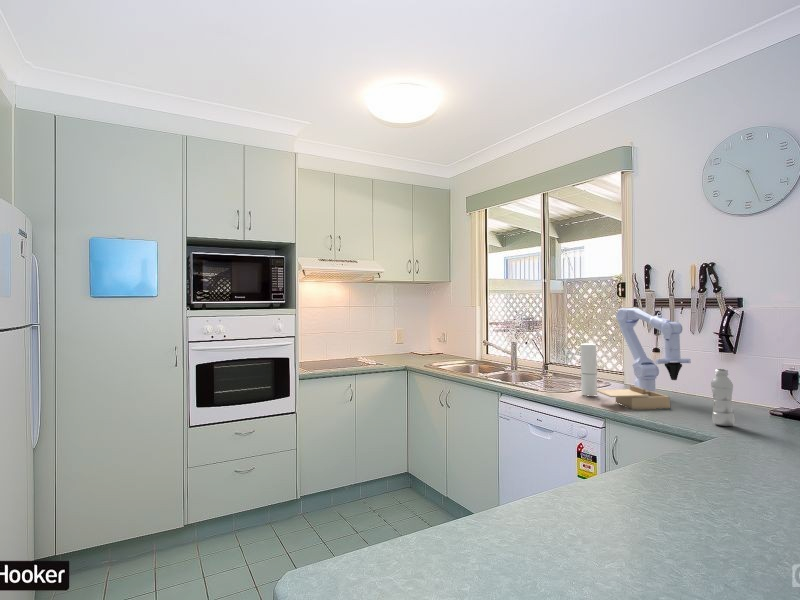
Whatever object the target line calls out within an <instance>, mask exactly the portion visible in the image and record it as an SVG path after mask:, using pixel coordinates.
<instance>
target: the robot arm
mask: <svg viewBox="0 0 800 600" xmlns="http://www.w3.org/2000/svg"><path fill="white" fill-rule="evenodd" d="M615 315H616V316H615V319H616V320H617V322H618V325H619V328H620V332H621V334H622V336H623V338H624V340H625V342H626V344H627V347H628V349H629V351H630V353H631V356H632V357H633V359H634V362H633V363H632V365H631V366H632V369H633V373H634V376H635V377H636V378H635V380H634V386H636V387H639V388H642V389H645V391H653V392H656V391H657V390H656V379H657V377H658V376H659V375H660V369H659V367H658V366H657V365H661V364H662V365H664V366H665V368H666V370H667V372H668V375H669V378H670V380H671V381H677V380H678V376H679V373H680V371H681V369H682V368H683V364H691V362H692V361H691V358H681V342H680V341H681V340H680V339H681V336H680V335H681V334H682V332H683V326H682V324H681V323H680V322H678V321H671V319H669V318H667V319H666V318H665V317H663V315H660V314H659V315H654V316H653V315H651V314H650V313H647V312H645V311H644V310H642V309H641V308H637V307H633V308H632V307H631V308H623V307H622V308H621V307H620V308H619V309H618V310H617V312H616V314H615ZM639 320H641V321H644V322H647V323H649V325H650V326H651V328H654V329H655V330H658V331H660V332H661V333H662V335H663V338H664V351H665V352H664V353H665V354H664V355H665V358H657V359H655V362H654V360H653V359H651V358H650V357H648V356H647V355H646V352H645V350H644V348H643V346H642V344H641V342H640V340H639V338H638V336H637V334H636V332H635V330H634V328H635V327H636V325H637V324H638V323H639ZM656 393H657V392H656Z"/></svg>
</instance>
